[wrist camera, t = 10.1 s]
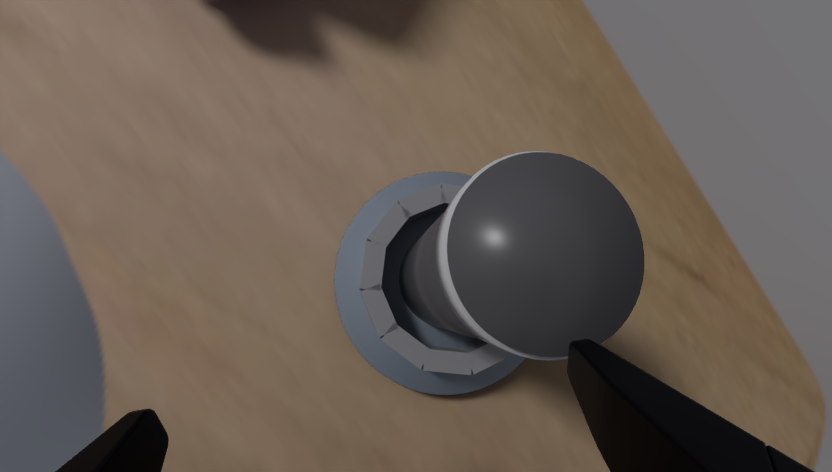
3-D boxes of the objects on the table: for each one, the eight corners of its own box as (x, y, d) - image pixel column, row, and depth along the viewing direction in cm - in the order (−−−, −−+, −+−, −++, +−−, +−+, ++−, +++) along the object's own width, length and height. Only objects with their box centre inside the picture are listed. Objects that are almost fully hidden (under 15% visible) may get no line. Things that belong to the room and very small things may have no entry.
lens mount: (538, 400, 23) (565, 414, 20) (319, 380, 21) (313, 392, 18) (549, 192, 25) (575, 178, 22) (351, 162, 23) (350, 142, 20)
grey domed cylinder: (514, 290, 22) (686, 276, 11) (436, 350, 21) (533, 409, 10) (456, 210, 23) (563, 111, 11) (377, 266, 22) (401, 222, 10)
